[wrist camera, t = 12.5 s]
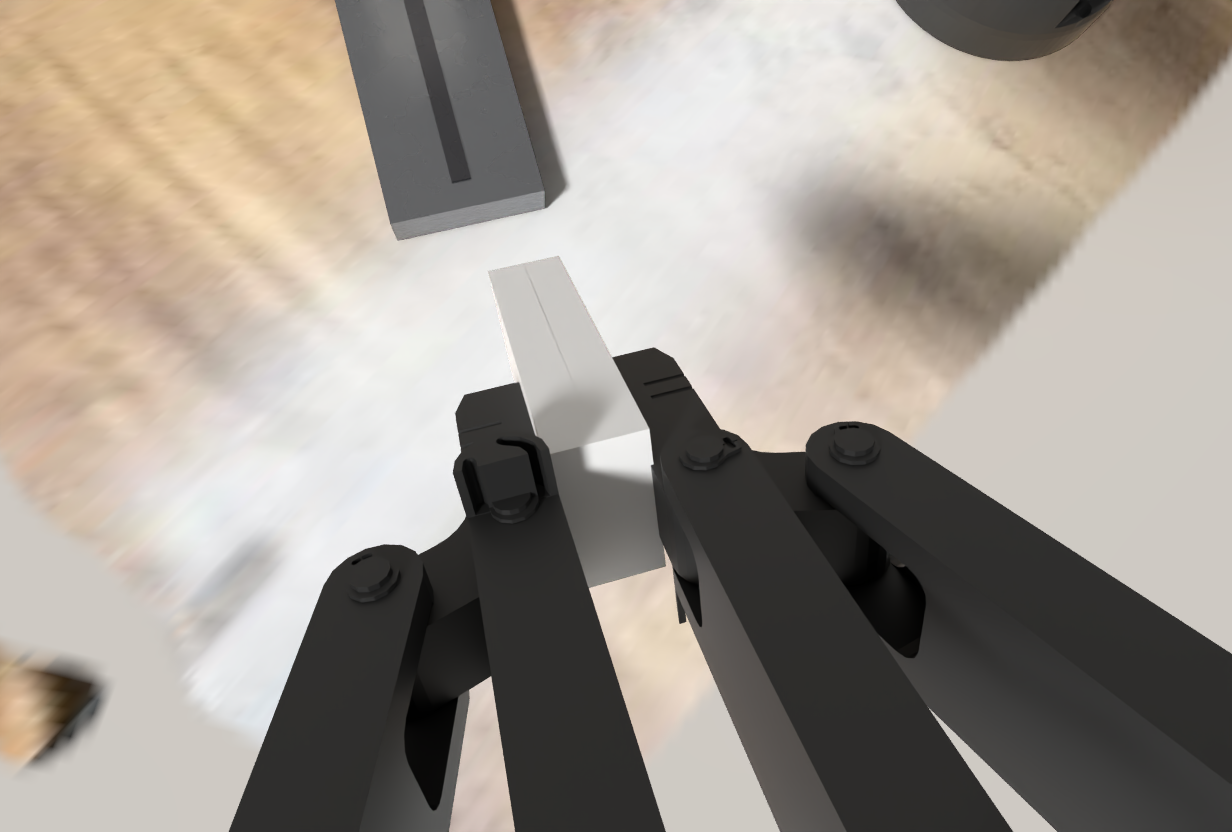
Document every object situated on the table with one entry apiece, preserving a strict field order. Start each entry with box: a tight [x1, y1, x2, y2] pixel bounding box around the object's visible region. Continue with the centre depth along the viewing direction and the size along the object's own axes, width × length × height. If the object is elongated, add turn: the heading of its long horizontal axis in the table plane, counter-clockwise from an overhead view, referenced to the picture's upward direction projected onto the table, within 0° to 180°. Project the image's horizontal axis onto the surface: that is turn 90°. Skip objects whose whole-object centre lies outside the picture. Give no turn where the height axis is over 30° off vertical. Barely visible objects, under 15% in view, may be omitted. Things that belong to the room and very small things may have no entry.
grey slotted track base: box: [335, 0, 545, 240], centre depth 42 cm, size 22×8×2 cm, turn 16°
